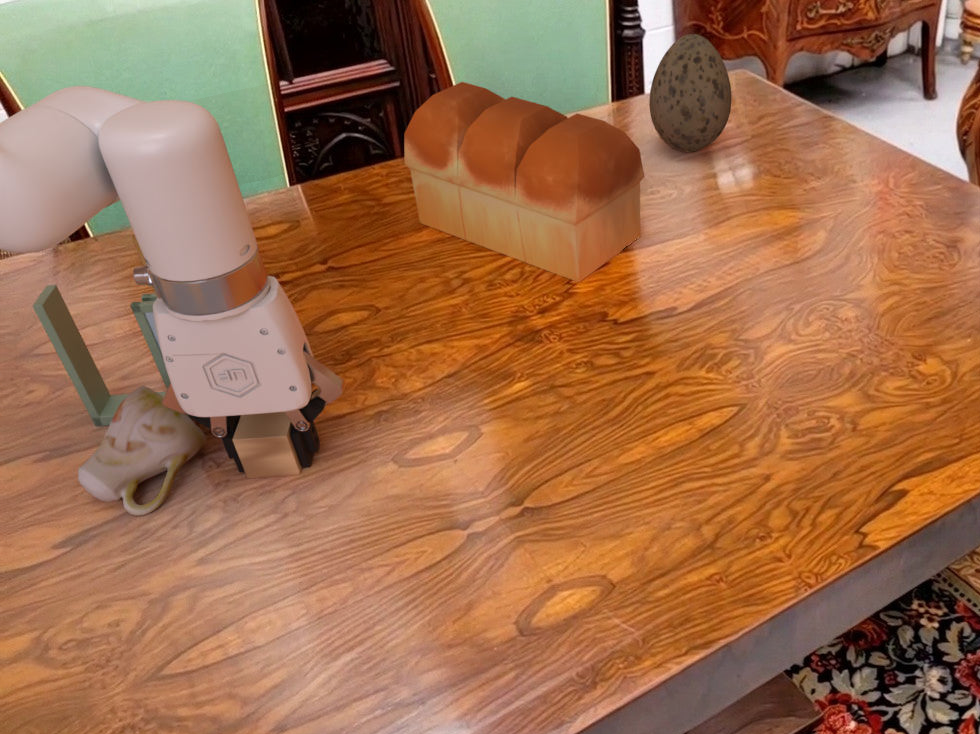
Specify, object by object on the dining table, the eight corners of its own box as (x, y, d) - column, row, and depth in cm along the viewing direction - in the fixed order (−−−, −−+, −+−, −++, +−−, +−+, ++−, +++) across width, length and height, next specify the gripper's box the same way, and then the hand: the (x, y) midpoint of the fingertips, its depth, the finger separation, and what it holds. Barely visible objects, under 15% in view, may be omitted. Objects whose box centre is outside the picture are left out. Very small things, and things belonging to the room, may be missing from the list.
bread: (645, 237, 109) (643, 113, 100) (580, 284, 102) (571, 156, 92) (485, 183, 120) (470, 67, 110) (415, 223, 113) (392, 102, 103)
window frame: (95, 426, 85) (31, 305, 76) (106, 404, 87) (46, 284, 78) (264, 414, 86) (220, 294, 77) (270, 393, 88) (229, 273, 79)
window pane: (172, 407, 84) (98, 241, 73) (176, 397, 85) (104, 233, 74) (242, 402, 85) (179, 237, 74) (245, 392, 86) (184, 228, 75)
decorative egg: (721, 169, 122) (727, 52, 113) (641, 161, 124) (640, 46, 115) (734, 135, 130) (741, 23, 120) (659, 129, 132) (659, 18, 122)
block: (247, 478, 79) (232, 440, 76) (258, 444, 83) (243, 406, 80) (300, 474, 80) (286, 436, 77) (308, 440, 83) (296, 402, 80)
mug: (64, 500, 78) (61, 382, 76) (182, 485, 85) (183, 377, 83) (100, 524, 73) (97, 398, 71) (222, 506, 81) (223, 392, 79)
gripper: (75, 313, 66) (166, 497, 78) (320, 297, 67) (372, 481, 79) (110, 258, 71) (190, 438, 83) (335, 244, 72) (382, 423, 84)
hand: (278, 457), depth 81 cm, fingers open, 4 cm apart
